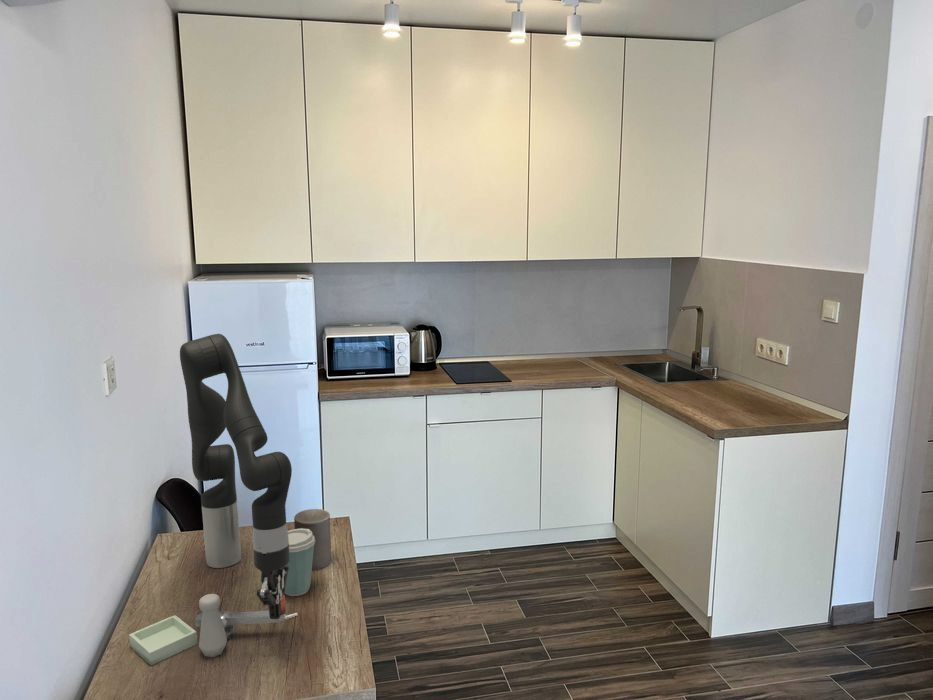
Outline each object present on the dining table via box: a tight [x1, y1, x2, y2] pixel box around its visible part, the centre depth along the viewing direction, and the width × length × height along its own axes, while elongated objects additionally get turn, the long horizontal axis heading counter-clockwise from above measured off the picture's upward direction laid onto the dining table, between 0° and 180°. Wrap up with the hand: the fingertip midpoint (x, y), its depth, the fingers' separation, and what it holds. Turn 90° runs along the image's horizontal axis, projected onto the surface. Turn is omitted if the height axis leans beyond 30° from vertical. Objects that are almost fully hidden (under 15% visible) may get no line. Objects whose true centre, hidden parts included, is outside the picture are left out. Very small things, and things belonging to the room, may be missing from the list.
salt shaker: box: [198, 593, 228, 658], centre depth 152 cm, size 6×6×13 cm
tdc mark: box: [284, 612, 299, 621], centre depth 167 cm, size 3×1×1 cm, turn 120°
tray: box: [128, 614, 199, 667], centre depth 156 cm, size 10×10×3 cm
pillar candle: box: [293, 508, 332, 571], centre depth 193 cm, size 10×10×15 cm
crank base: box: [225, 625, 235, 642], centre depth 159 cm, size 4×4×2 cm
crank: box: [195, 593, 287, 631], centre depth 159 cm, size 20×4×7 cm, turn 94°
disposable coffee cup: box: [283, 528, 315, 597], centre depth 178 cm, size 11×11×15 cm
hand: (275, 617), depth 156 cm, fingers closed
